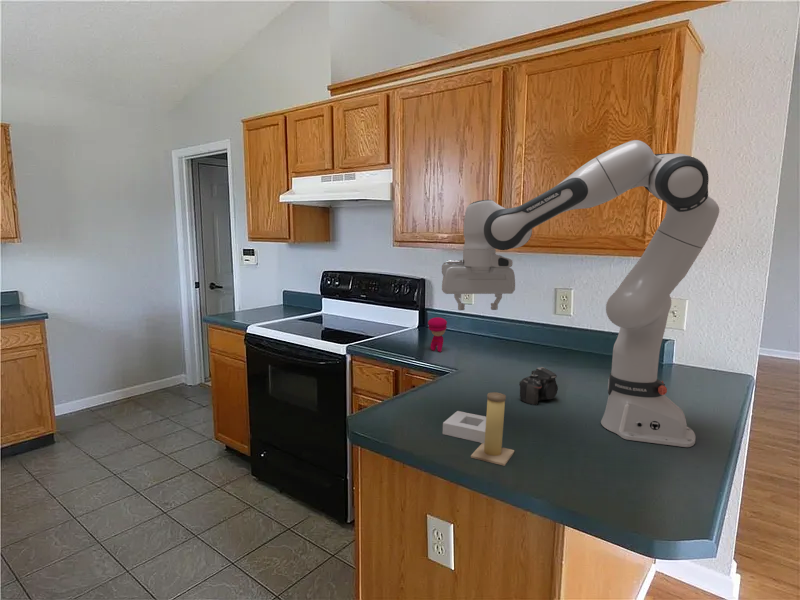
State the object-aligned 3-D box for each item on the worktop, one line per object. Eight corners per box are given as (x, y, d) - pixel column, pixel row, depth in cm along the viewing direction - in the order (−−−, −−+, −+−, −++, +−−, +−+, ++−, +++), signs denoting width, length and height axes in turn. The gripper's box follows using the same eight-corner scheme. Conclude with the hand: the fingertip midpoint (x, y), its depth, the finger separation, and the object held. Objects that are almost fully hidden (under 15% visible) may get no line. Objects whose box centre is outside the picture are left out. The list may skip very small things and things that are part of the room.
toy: (449, 350, 216) (450, 317, 213) (440, 354, 209) (441, 320, 207) (432, 348, 220) (433, 315, 218) (423, 351, 213) (424, 317, 211)
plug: (504, 450, 115) (508, 394, 113) (497, 457, 112) (501, 399, 110) (487, 446, 118) (491, 391, 116) (480, 452, 114) (484, 395, 112)
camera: (548, 408, 146) (550, 376, 144) (516, 401, 151) (517, 370, 150) (561, 397, 157) (563, 366, 155) (531, 390, 162) (533, 361, 161)
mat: (514, 452, 116) (514, 450, 116) (504, 465, 109) (504, 463, 109) (482, 444, 120) (482, 442, 120) (470, 457, 113) (470, 455, 113)
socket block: (499, 430, 129) (499, 419, 128) (487, 444, 120) (487, 432, 120) (457, 421, 134) (457, 410, 134) (442, 433, 126) (442, 422, 125)
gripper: (444, 260, 130) (443, 311, 132) (518, 260, 133) (516, 311, 134) (439, 259, 136) (438, 308, 138) (510, 259, 139) (508, 308, 140)
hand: (477, 309), depth 136 cm, fingers open, 8 cm apart
